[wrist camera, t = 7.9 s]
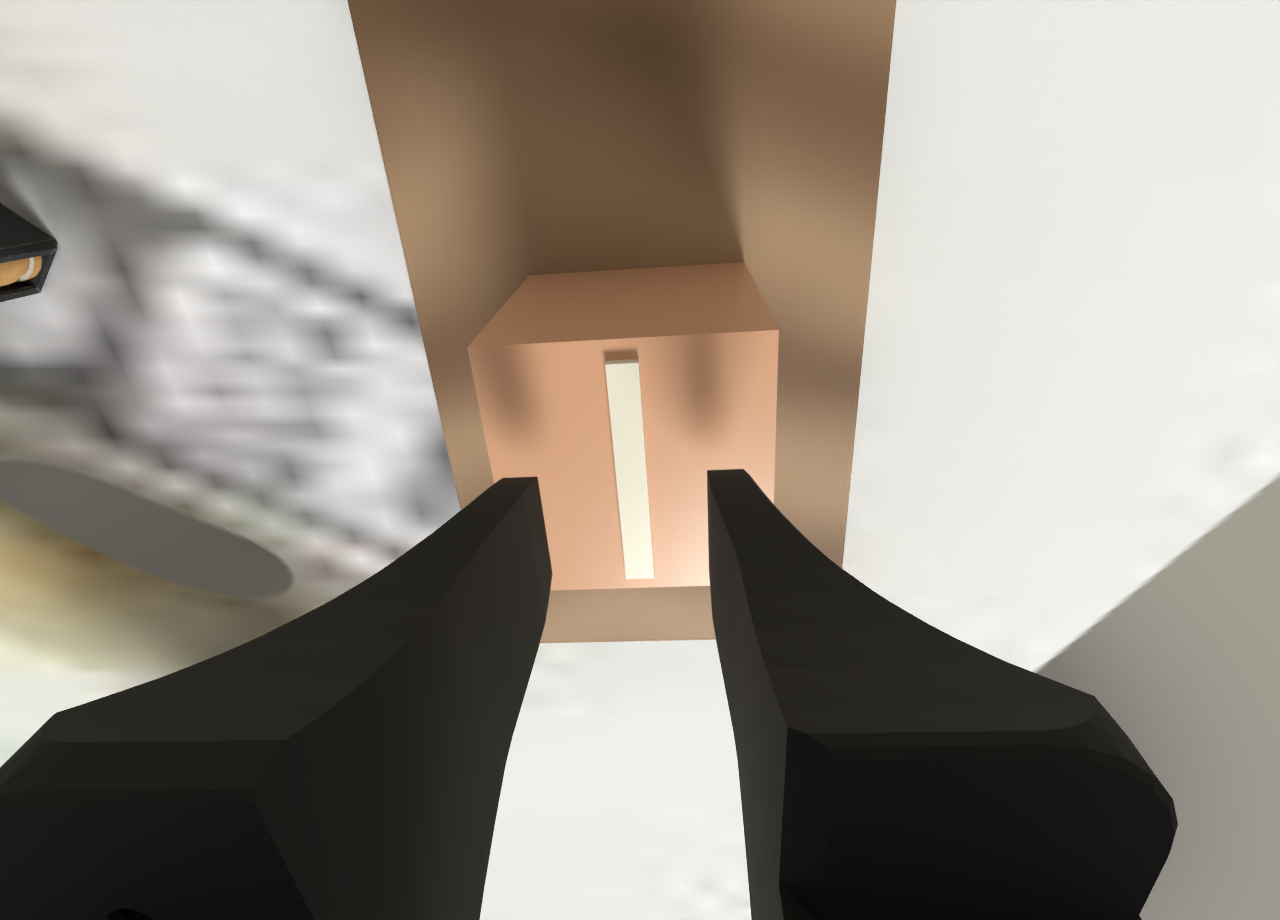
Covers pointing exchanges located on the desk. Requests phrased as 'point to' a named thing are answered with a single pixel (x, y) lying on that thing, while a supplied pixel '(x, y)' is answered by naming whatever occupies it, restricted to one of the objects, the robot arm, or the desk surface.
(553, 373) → the orange cube
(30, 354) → the desk surface
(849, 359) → the mount
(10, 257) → the ammunition clip
